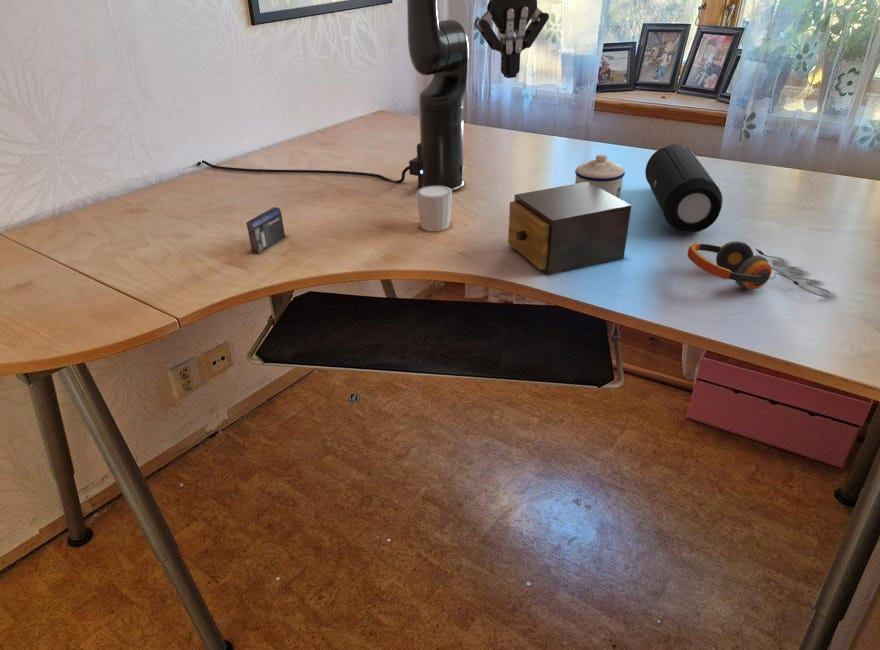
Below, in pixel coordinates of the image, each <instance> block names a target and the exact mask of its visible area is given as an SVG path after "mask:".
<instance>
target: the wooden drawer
mask: <svg viewBox="0 0 880 650" xmlns="http://www.w3.org/2000/svg"><path fill="white" fill-rule="evenodd" d="M508 213H509V214H508V236H507V243H508V245H510V246H511V248H513V249H514V250H516V251H517V252H518V253H519V254H520V255H522V257H524V258H525V259H526V260H527V261H529V262H530V263H532V265H534V266H535V267H536V268H537V269H538V270H540V271H543V270H542V269H546V267H547V255H548V242H549V230H550V223H548V222H547V221H546V220H544V219H543V218H541V217H540V216H538V215H537V214H536V213H534V212H533V211H531V210H530V209H528V208H527V207H526V206H522V205H521V204H520V203H518V202H517V201H514V200H512V201H509V212H508Z"/></svg>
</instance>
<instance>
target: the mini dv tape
mask: <svg viewBox="0 0 880 650" xmlns="http://www.w3.org/2000/svg"><path fill="white" fill-rule="evenodd" d="M245 224H246V229H247V233H248V238H249V244H250V249H251V253H255V254H261V253H263V252H264V251H265V250H267V249H269V248H270V247H273V246H274V245H276V244H277V243H279V242H280V241H281V240H283V239H285V238H286V234H285V227H284V221H283V216H282V211H281V209H280V207H276V206H273V207H271V208H270V209H268V210H266V211H264V212H263V213H260V214H258V215H257V216H255V217H253V218H252V219H250V220H248V221H246V223H245Z"/></svg>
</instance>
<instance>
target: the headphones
mask: <svg viewBox="0 0 880 650" xmlns="http://www.w3.org/2000/svg"><path fill="white" fill-rule="evenodd" d="M699 251H705V252H710V253H714V254H716V255H715V256H716V257H715V263H714V262H712V261H710V260H708V259H706V258H705V257H704V256H702V255H701V254H700V253H699ZM755 251H756V252H757V253H758V254H755V255H754V252H753V249H752V248H751V247H750V245H748V244H747V243H746V242H743V241H739V240H735V241H730V242H726V243H724V244H723V245H722V246H719V245H714V244H710V243H698V242H693V243H692V244H691V245H690V246H689V247H688V249H687V257H688V259H689V260H690V261H691V262H692V263H693V264H694V265H696V267H698V268H700V269H701V270H702V271H705V272H707V273H708V274H711V275H713V276H715V277H717V278H721V279H723V280H731V281H735V283H736V285H738V287H741V288H742V289H750V290H757V289H759V288H762V286H764V285H766V283H767V282H768V281H769V280H774V279H776V276H777V275H779V276H782V277H783V278H786V279H788V280H789V281H792V283H793V284H794V285H796V286H798V287H800V288H801V289H803V290H804V291H805V292H808V293H810V294H812V295H815V296H818V297H822V298H823V297H824V298H830V297H832V296H833V295H832V293H831V291H829V290H828V289H825V288H822V287H820V286H817V285H813V284H819V283H820V282H819V280H816V279H811V278H806V277H805V278H803V277H804V276H803V274H805V271H804V270H801V269H799V267H796V266H791V265H789V264H788V263H787V262H786V260H785V259H783V258H782V257H779V256H774V255H773V256H772V255H767V254H765V253H764V252H763V251H762V250H759V249H758V248H755ZM766 257H767V258H772V259H771V264H770V263H769V261H768V259H767V258H766ZM775 259H776V260H775ZM771 265H773V266H776V267H782V268H786V269H787V273H789V275H787V274H786V273H784V272H782V271H781V270H780V269H777V268H775V267H772V266H771ZM773 270H774V271H776V272H774V273H773V276H772V272H773ZM771 276H772V277H771ZM794 279H798V280H803V281H805V282H804V283H805V284H806V285H807V286H809V287H813V288H815V289H818V290H821V291H824V292H826V293H828V295H825V294H820V293H817V292H814V291H811V290H809V289H807V288H806V287H804V286H803V285H801V284H800V283H799V282H798V281H797V280H794Z"/></svg>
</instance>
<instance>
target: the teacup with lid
mask: <svg viewBox="0 0 880 650" xmlns="http://www.w3.org/2000/svg"><path fill="white" fill-rule="evenodd" d="M575 168H576V169H575V171H574V173H575V183H574V184H577V183H583V182H590V183H591V184H593V185H595V186H597V187H599V188H601V189H602V190H604V191H606V192H608V193H610V194H612V195H613V196H615V197H617V198H619V199H621V193H622V186H623V180H624V177H625V174H626V172H625V169H624V167H623V166H622V165H620V164H618V163H616V162H613V161H612V160H611V159H608V156H607V155H606V154H603V153H599V154H596V155H595V159H591V160H589V161H586V162H583V163H581V164H579V165H577V166H576V167H575Z"/></svg>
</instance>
